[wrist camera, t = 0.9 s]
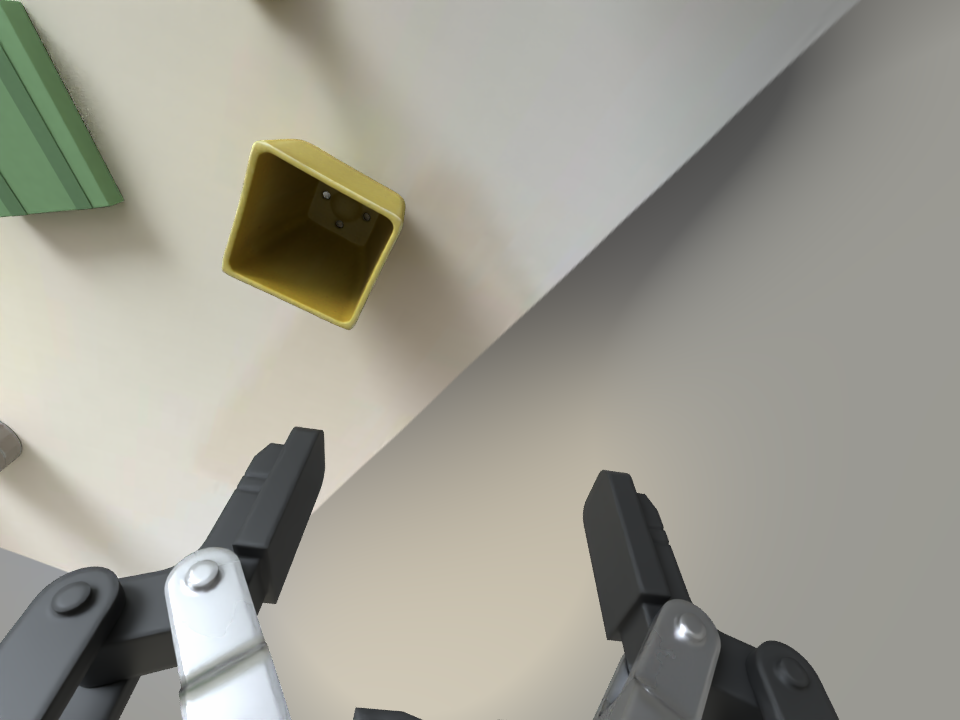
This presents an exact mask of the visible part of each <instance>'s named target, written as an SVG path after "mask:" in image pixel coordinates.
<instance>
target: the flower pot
mask: <svg viewBox="0 0 960 720" xmlns="http://www.w3.org/2000/svg"><path fill="white" fill-rule="evenodd" d="M324 191H327V192H329V193H330V198H329V199H326V198H325V197H324V196H323V192H324ZM365 213H367V214H369V215H370V220H365V219H364V218H363V215H364V214H365ZM404 215H405V202H404V200H403V198H402V197H401V196H400V195H399V194H397V193H396V192H394V191H393V190H391V189H389V188H387V187H385V186H383V185H382V184H380V183H378V182H376V181H374V180H373V179H371V178H369V177H367V176H366V175H364V174H362V173H360V172H359V171H357V170H355V169H353V168H352V167H350V166H348V165H347V164H345V163H343V162H341V161H340V160H338V159H336V158H335V157H333V156H331V155H329V154H328V153H326V152H324V151H323V150H321V149H320V148H318V147H316V146H314V145H312V144H310V143H308V142H306V141H303V140H298V139H280V140H264V141H262V140H260V141H256V142H255V143H254V144H253V146H252V150H251V153H250V157H249V161H248V166H247V170H246V176H245V180H244V183H243V188H242V192H241V196H240V201H239V205H238V208H237V212H236V216H235V219H234V222H233V226H232V229H231V232H230V236H229V239H228V243H227V246H226V249H225V252H224V256H223V260H222V270H223V272H224V273H226V274H228V275H229V276H231V277H233V278H236V279H238V280H240V281H242V282H244V283H247V284H249V285H251V286H253V287H255V288H257V289H260V290H262V291H264V292H266V293H269V294H271V295H273V296H275V297H277V298H279V299H281V300H284V301H286V302H288V303H290V304H292V305H294V306H296V307H298V308H301V309H303V310H305V311H307V312H309V313H311V314H313V315H315V316H317V317H319V318H321V319H324V320H326V321H328V322H330V323H332V324H334V325H337V326H339V327H342V328H344V329H347V330H351V329H352V328H353V327H354V326H355V324H356V322H357V320H358V318H359V315H360V313H361V311H362V309H363V307H364V305H365V303H366V300H367V298H368V296H369V294H370V292H371V290H372V288H373V286H374V284H375V282H376V280H377V278H378V276H379V274H380V272H381V270H382V268H383V266H384V264H385V262H386V260H387V258H388V256H389V254H390V252H391V250H392V248H393V246H394V244H395V242H396V240H397V238H398V236H399V234H400V232H401V229H402V227H403V222H404ZM337 221H341V222H342V223H343V227H341V228H339V227H338V226H337V225H336V222H337Z"/></svg>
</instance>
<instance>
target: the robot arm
mask: <svg viewBox="0 0 960 720" xmlns="http://www.w3.org/2000/svg"><path fill="white" fill-rule="evenodd" d="M324 472H325V453H324V432H323V430H317V429H309V428H302V427H294V428H293V429H292V431H291V433H290V435H289V437H288V439H287V440H286V442H285V444H284V445H282V444H274V443H270V444H269V445H268V446H267V447H265V448H264V449H263V450H262V451H261V452H259V453H258V454H257V455H256V456H255V457H254V458H253V460H252V462H251V463H250V465H249V467H248V469H247V470H246V472H245V476H243V477H242V479H241V481H240V482H239V484H238V486H237V489H236V490H235V491H234V493H233V494H232V496H231V498H230V499H229V501H228V503H227V505H226V506H225V508H224V510H223V512H222V513H221V515H220V517H219V518H218V520H217V522H216V524H215V525H214V527H213V529H212V530H211V532H210V534H209V536H208V537H207V539H206V541H205V542H204V543H203V545H202V546H201V547H200V548H199V550H198V551H196V552H194V553H191V554H190V555H188V556H186V557H185V558H184V559H182V560H181V561H180V562H179V563H178V564H177V565H175V566H173V567H171V568H168V569H165V570H161V571H157V572H151V573H146V574H141V575H135V576H130V577H124V578H119V579H118V578H117V576H116V575H115V574H114V572H112V571H111V570H109V569H107V568H104V567H87V568H82V569H78V570H75V571H72V572H70V573H67V574H65V575H63V576H61V577H60V578H58V579H56V580H55V581H53V582H52V583H51V584H49V585H48V586H46V587H45V588H44V589H43V590H42V591H41V592H40V593H39V594H38V595H37V596H36V597H35V599H34V600H33V601H32V603H31V604H30V605H29V606H28V608H27V609H26V610H25V612H24V613H23V614H22V616H21V617H20V618H19V620H18V621H17V622H16V623H15V625H14V626H13V627H12V629H11V630H10V631H9V633H8V634H7V635H6V637H5V638H4V639H3V640H2V642H1V643H0V720H119V718H120V716H121V714H122V712H123V710H124V708H125V706H126V704H127V702H128V700H129V698H130V695H131V694H132V692H133V690H134V688H135V686H136V684H137V682H138V680H139V678H140V676H142V675H146V674H149V673H153V672H157V671H161V670H165V669H169V668H173V667H177V666H178V670H179V676H180V683H181V689H180V691H179V697H180V706H181V713H182V719H183V720H291V718H290V714H289V711H288V708H287V705H286V701H285V698H284V695H283V692H282V689H281V686H280V682H279V680H278V676H277V673H276V670H275V667H274V664H273V660H272V658H271V655H270V652H269V649H268V646H267V643H266V642H265V640H264V637H263V634H262V631H261V627H260V624H259V621H258V618H257V615H258V613H259V610H260V608H261V606H262V603H272V604H276V603H277V600H278V597H279V595H280V592H281V590H282V587H283V585H284V582H285V579H286V577H287V574H288V572H289V569H290V566H291V564H292V561H293V559H294V556H295V553H296V551H297V548H298V546H299V543H300V541H301V538H302V535H303V533H304V530H305V528H306V525H307V522H308V520H309V517H310V515H311V512H312V510H313V507H314V504H315V502H316V499H317V497H318V494H319V492H320V489H321V486H322V482H323V478H324ZM583 522H584V528H585V533H586V538H587V543H588V548H589V553H590V558H591V562H592V567H593V572H594V577H595V582H596V587H597V592H598V597H599V602H600V607H601V612H602V617H603V621H604V626H605V632H606V637H607V640H614V641H622V643H623V647H624V652H625V653H624V655H623V656H622V658H621V660H620V662H619V664H618V666H617V668H616V671H615V673H614V675H613V677H612V679H611V681H610V684H609V686H608V688H607V690H606V692H605V695H604V697H603V699H602V701H601V703H600V706H599V707H598V710H597V712H596V714H595V716H594V718H593V720H839V719H838V716H837V714H836V712H835V710H834V708H833V706H832V704H831V702H830V700H829V698H828V696H827V694H826V692H825V689H824V687H823V685H822V683H821V681H820V679H819V678H818V675H817V674H816V672H815V671H814V669H813V668H812V666H811V665H810V664H809V663H808V662H807V660H806V659H805V658H804V657H803V656H801V655H800V654H799V653H798V652H797V651H795V650H794V649H793V648H791V647H789V646H788V645H786V644H783V643H781V642H777V641H766V642H764V643H762V644H761V645H760V646H759V647H758V648H755V647H753V646H751V645H748V644H746V643H744V642H742V641H739V640H737V639H735V638H733V637H731V636H728V635H726V634H724V633H722V632H720V631H719V630H717V629H716V627H715V625H714V624H713V622H712V621H711V619H710V618H709V617H708V616H707V614H706V613H704V612H703V611H702V610H701V609H700V608H699V607H697V606H696V605H694V604H693V603H692V601H691V599H690V597H689V594H688V592H687V589H686V586H685V584H684V581H683V578H682V576H681V573H680V570H679V567H678V565H677V562H676V559H675V557H674V554H673V551H672V549H671V546H670V545H669V541H668V538H667V535H666V532H665V531H664V530H663V524H662V522H661V519H660V516H659V513H658V511H657V509H656V508H655V507H654V505H653V504H652V503H651V501H650V500H649V499H648V498H647V496H646V495H645V494H640V493H637V492H636V490H635V487H634V484H633V481H632V478H631V476H630V475H629V474H627V473H621V472H613V471H607V470H602V471H601V472H600V473H599V475H598V477H597V479H596V481H595V483H594V485H593V487H592V489H591V491H590V493H589V495H588V498H587V500H586V502H585V505H584V510H583ZM353 720H421V719H419V718H417V717H414V716H412V715H410V714H407V713H405V712H402V711H390V710H378V709H367V708H356V709H355V713H354V718H353Z"/></svg>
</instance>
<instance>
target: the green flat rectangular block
mask: <svg viewBox="0 0 960 720" xmlns="http://www.w3.org/2000/svg"><path fill="white" fill-rule="evenodd" d="M123 201H124V199H123V197H122V195H121V194H120V192H119V190H118V188H117V186H116V184H115V182H114V180H113V178H112V176H111V174H110V172H109V171H108V169H107V167H106V165H105V163H104V161H103V159H102V157H101V155H100V153H99V151H98V149H97V147H96V146H95V144H94V142H93V140H92V138H91V136H90V134H89V132H88V130H87V128H86V126H85V124H84V123H83V121H82V119H81V117H80V115H79V113H78V111H77V109H76V107H75V105H74V103H73V101H72V99H71V98H70V96H69V94H68V92H67V90H66V88H65V86H64V84H63V82H62V80H61V78H60V76H59V75H58V73H57V71H56V69H55V67H54V65H53V63H52V61H51V59H50V57H49V55H48V53H47V51H46V50H45V48H44V46H43V44H42V42H41V40H40V38H39V36H38V34H37V32H36V30H35V28H34V27H33V25H32V23H31V21H30V19H29V17H28V15H27V13H26V11H25V9H24V7H23V5H22V4H21V2H18V1H10V0H0V217H6V216H20V215H28V214H37V213H47V212H57V211H67V210H82V209H92V208H98V207H108V206H112V205H115V204H117V203H120V202H123Z"/></svg>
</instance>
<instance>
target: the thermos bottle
mask: <svg viewBox="0 0 960 720" xmlns="http://www.w3.org/2000/svg"><path fill="white" fill-rule="evenodd" d="M21 450H22V446H21V443H20V441H19V439H18V437H17V436H16V435H15V434H14V432H13V431H12V430H11V429H9V428H8V427H7V426H6V425H5V424H3V423H2V422H0V471H2V470H3V469H4V468H5V467H6V466H8V465H9V464H10V463H11V462H12V461H14V460H15V459H16V458H17V457H18V456H19V455H20V453H21Z"/></svg>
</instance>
